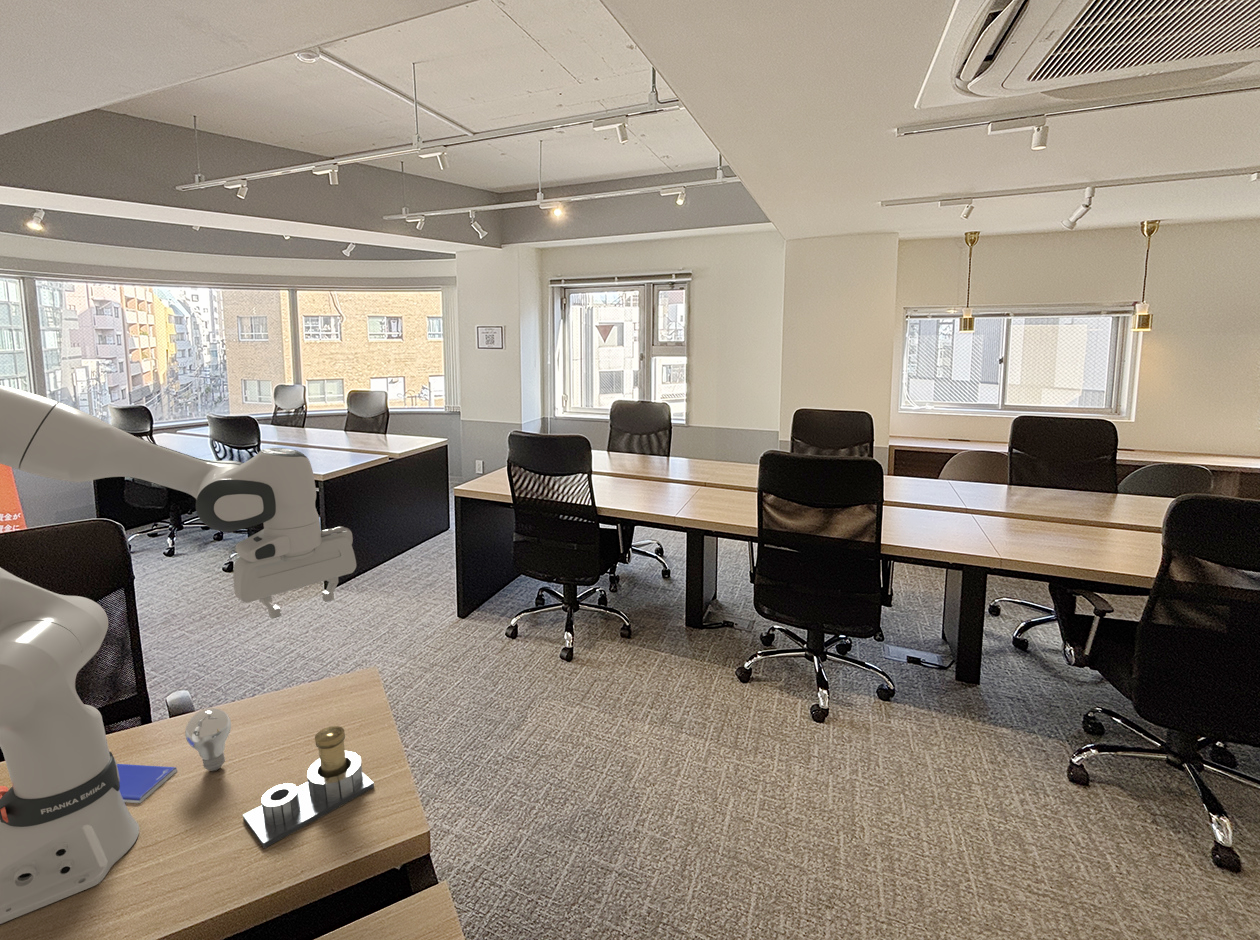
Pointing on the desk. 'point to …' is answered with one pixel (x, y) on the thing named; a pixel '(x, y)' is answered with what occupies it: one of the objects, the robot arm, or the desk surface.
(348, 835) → the desk surface
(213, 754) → the light bulb
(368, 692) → the desk surface
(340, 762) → the brass fitting
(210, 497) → the robot arm
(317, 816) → the manifold plate
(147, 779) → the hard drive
